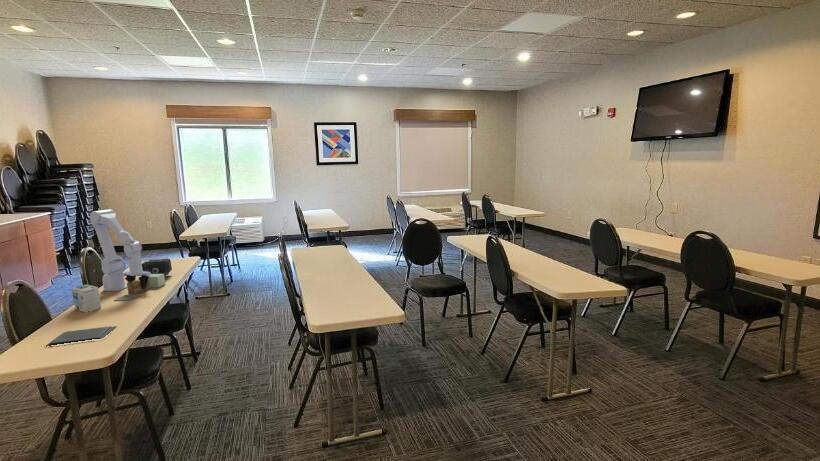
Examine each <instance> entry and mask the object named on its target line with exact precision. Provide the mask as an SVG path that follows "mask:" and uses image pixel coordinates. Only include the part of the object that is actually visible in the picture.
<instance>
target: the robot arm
mask: <svg viewBox="0 0 820 461" xmlns="http://www.w3.org/2000/svg"><path fill="white" fill-rule="evenodd" d="M89 219H90V223H91V225H92V227H93V228H94V230H95V233H96V235H97V239H98V242H99V245H100V247H101V250H102V253H103V256H104V258H103V259H102V260H101V261H100V263H101V264H100V265H101V271H102V272H103V276H102V278H101V279H102V287H103V290H102V292H103V291H104V292H113V291H114V292H119V291H121V290H124V289H128V288H127V285H126V283H129V282H131V281H133V280H136V279H137V277H138V278H139V280H140V282H141V287H142V289H146V285H147V281H148V278H149V276H151V272H146V271H143V269H142V263H143V262H142V257H141V252H142V250H143V246H142V243H141V242H140V241H139V240H136V239H134V238H133V236H132V235H131V234H130V233H129V232H128V231H125V229H124V228H123V227H122V225H121V224H120V223H119V220H117V214H116V212H115V210H113V209H111V208H108V209H102V210H93V211H91V212H90V215H89ZM108 227H109V228H110V229H111V230H112V231H113V232H114V233H115V234H116V239H117V241H119V243H121V244H122V246H123V251H124V253H125V255H126V257H127V259H128V260H127V262H128V267H129V271H125V270H126V268H127V264H126V262H125V261H124V259H123V257H122V256H120V255H117V252H116V249H115V247H114V243H113V241H112V238H111V236H110V232H109V229H108ZM125 280H126V281H127V282H126V283H125Z"/></svg>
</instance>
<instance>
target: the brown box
mask: <svg viewBox="0 0 820 461" xmlns="http://www.w3.org/2000/svg"><path fill="white" fill-rule="evenodd" d="M126 286H127V288H126V289H127V293H128V294H127V295H140V294H141V293H144V292H145V291H147V290H148V291H149V290H150V289H151V287H150V286H149V279H148V281H147V285H146V289H142V287H141V282H140V280H139V277H138V278H136V279H135V280H133V281H131V282H129V283H128V282H126Z"/></svg>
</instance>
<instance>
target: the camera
mask: <svg viewBox="0 0 820 461" xmlns="http://www.w3.org/2000/svg"><path fill="white" fill-rule="evenodd" d="M142 269H143V271H146V272H151V274H164V277H166V276H168V275H169V274H170V272H172V269H173V268H172V260H171V259H170V258H160V259H158V258H157V259H149V260H148V261H147V260H146V261H143V262H142Z"/></svg>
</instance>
